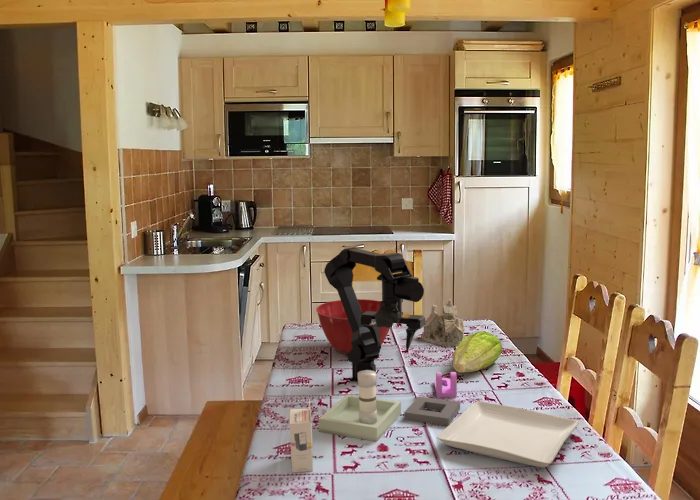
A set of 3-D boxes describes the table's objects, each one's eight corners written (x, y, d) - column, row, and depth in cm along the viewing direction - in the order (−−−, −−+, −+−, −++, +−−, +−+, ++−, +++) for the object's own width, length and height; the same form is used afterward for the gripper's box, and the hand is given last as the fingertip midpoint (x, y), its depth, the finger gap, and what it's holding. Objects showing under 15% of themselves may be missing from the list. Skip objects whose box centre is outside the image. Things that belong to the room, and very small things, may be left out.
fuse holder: (404, 419, 177) (404, 412, 176) (418, 403, 188) (418, 396, 187) (448, 425, 172) (448, 418, 172) (460, 409, 183) (460, 402, 183)
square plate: (550, 479, 144) (550, 462, 144) (434, 451, 159) (434, 436, 158) (579, 432, 167) (580, 418, 167) (476, 412, 181) (476, 398, 181)
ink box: (291, 455, 157) (288, 396, 155) (312, 454, 158) (310, 395, 155) (291, 473, 149) (288, 410, 147) (313, 472, 149) (311, 409, 147)
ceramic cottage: (421, 333, 256) (422, 296, 253) (464, 335, 255) (466, 298, 251) (421, 348, 241) (422, 309, 238) (466, 350, 240) (468, 310, 236)
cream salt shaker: (355, 420, 175) (353, 372, 173) (370, 415, 178) (368, 368, 176) (366, 426, 171) (364, 377, 169) (381, 421, 174) (379, 373, 172)
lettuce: (433, 359, 210) (463, 341, 203) (465, 335, 230) (493, 319, 223) (455, 392, 208) (485, 375, 201) (485, 365, 228) (514, 349, 221)
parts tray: (318, 431, 170) (318, 418, 170) (347, 406, 187) (346, 394, 186) (377, 441, 164) (376, 427, 163) (401, 414, 180) (400, 401, 180)
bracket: (456, 397, 191) (456, 374, 190) (437, 397, 192) (437, 374, 191) (451, 382, 204) (451, 360, 203) (433, 382, 205) (433, 360, 203)
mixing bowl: (410, 344, 243) (409, 303, 241) (370, 367, 220) (369, 321, 217) (345, 334, 258) (344, 295, 256) (301, 354, 235) (300, 311, 232)
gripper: (351, 300, 190) (352, 353, 192) (413, 305, 183) (414, 359, 185) (366, 292, 200) (367, 342, 202) (425, 296, 193) (426, 348, 195)
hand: (392, 348), depth 196 cm, fingers open, 9 cm apart
